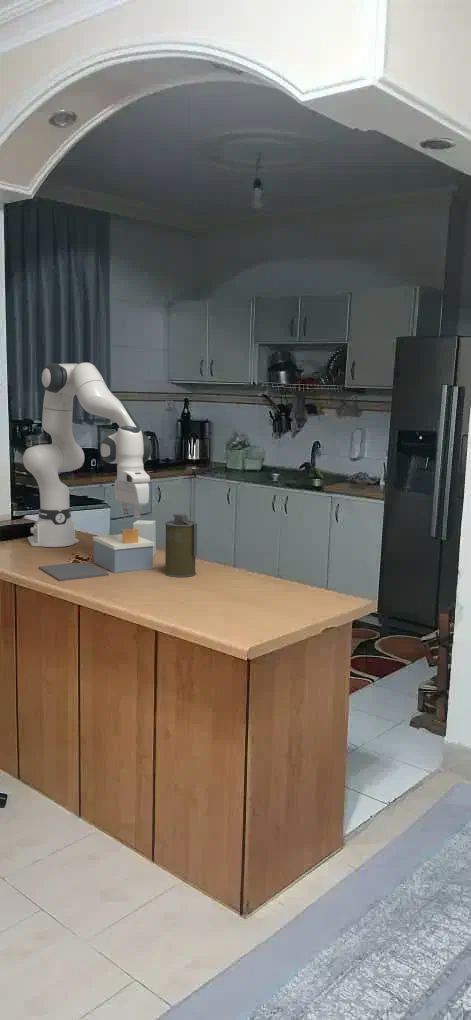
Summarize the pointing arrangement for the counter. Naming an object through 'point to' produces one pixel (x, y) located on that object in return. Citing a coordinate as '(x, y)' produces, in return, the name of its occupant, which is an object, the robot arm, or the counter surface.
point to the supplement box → (146, 531)
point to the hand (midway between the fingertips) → (130, 516)
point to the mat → (73, 571)
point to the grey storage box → (123, 558)
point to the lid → (124, 540)
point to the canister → (180, 547)
